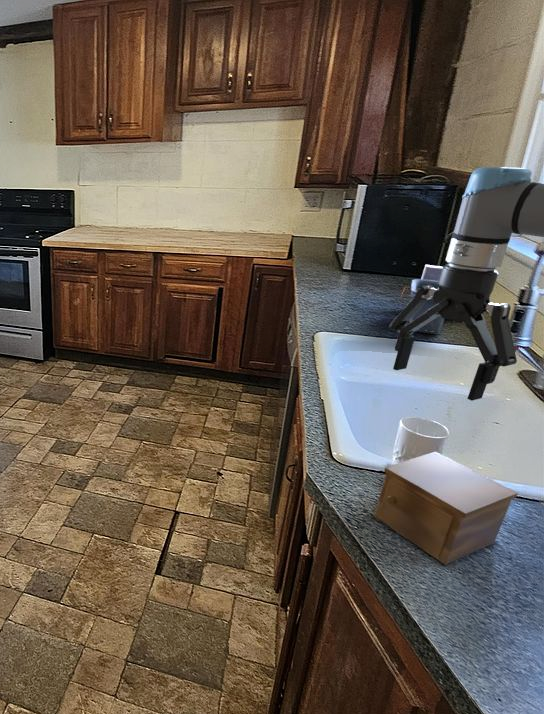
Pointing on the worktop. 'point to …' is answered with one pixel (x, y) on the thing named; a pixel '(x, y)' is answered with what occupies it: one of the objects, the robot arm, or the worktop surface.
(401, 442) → the white cup
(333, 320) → the worktop surface
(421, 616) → the worktop surface
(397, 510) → the cupboard
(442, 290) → the robot arm
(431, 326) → the storage bin
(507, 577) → the worktop surface
